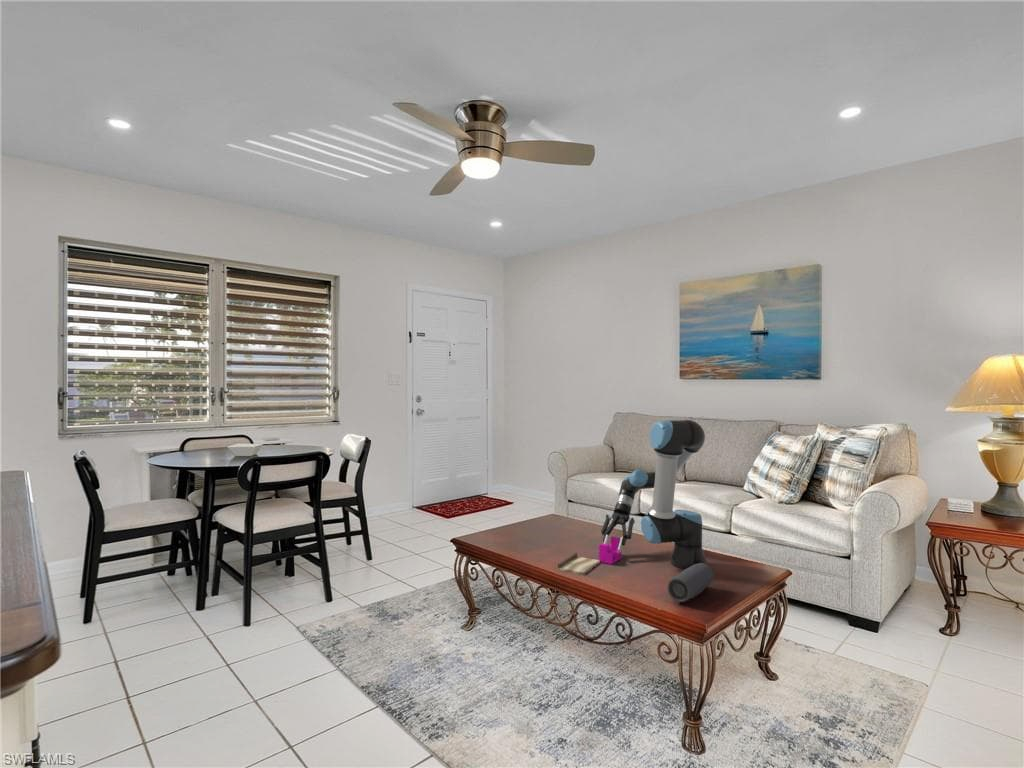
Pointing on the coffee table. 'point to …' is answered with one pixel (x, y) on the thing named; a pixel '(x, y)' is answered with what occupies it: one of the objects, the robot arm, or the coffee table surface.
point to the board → (577, 564)
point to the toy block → (610, 551)
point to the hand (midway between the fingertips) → (611, 549)
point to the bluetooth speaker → (690, 582)
